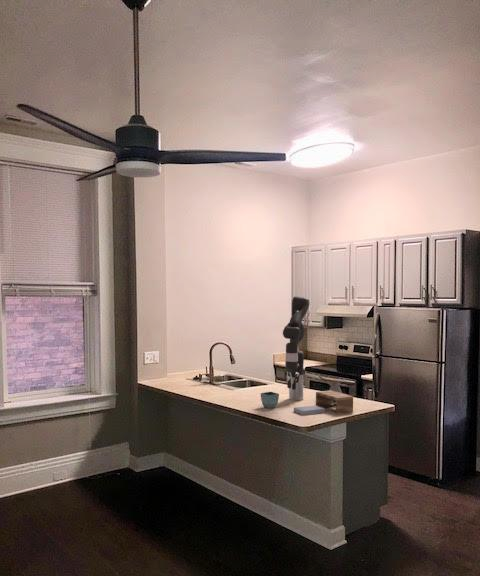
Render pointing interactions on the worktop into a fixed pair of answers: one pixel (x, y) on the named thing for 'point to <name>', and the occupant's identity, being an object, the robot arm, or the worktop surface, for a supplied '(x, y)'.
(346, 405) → the brown cardboard box
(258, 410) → the worktop surface
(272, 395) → the flower pot
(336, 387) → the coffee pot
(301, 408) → the panel
